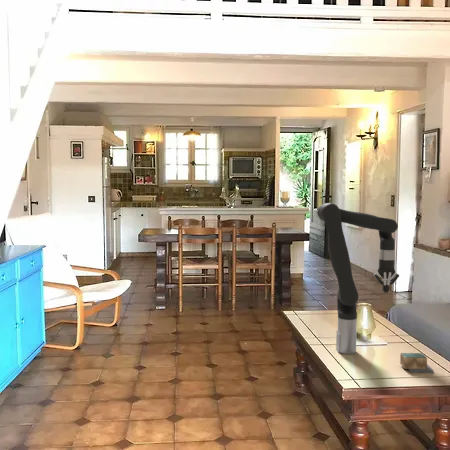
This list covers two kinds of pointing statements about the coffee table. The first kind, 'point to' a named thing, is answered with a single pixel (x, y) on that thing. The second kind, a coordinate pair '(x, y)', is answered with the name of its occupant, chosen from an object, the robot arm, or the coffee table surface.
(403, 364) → the oak block
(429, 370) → the rubber pad
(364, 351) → the coffee table surface
